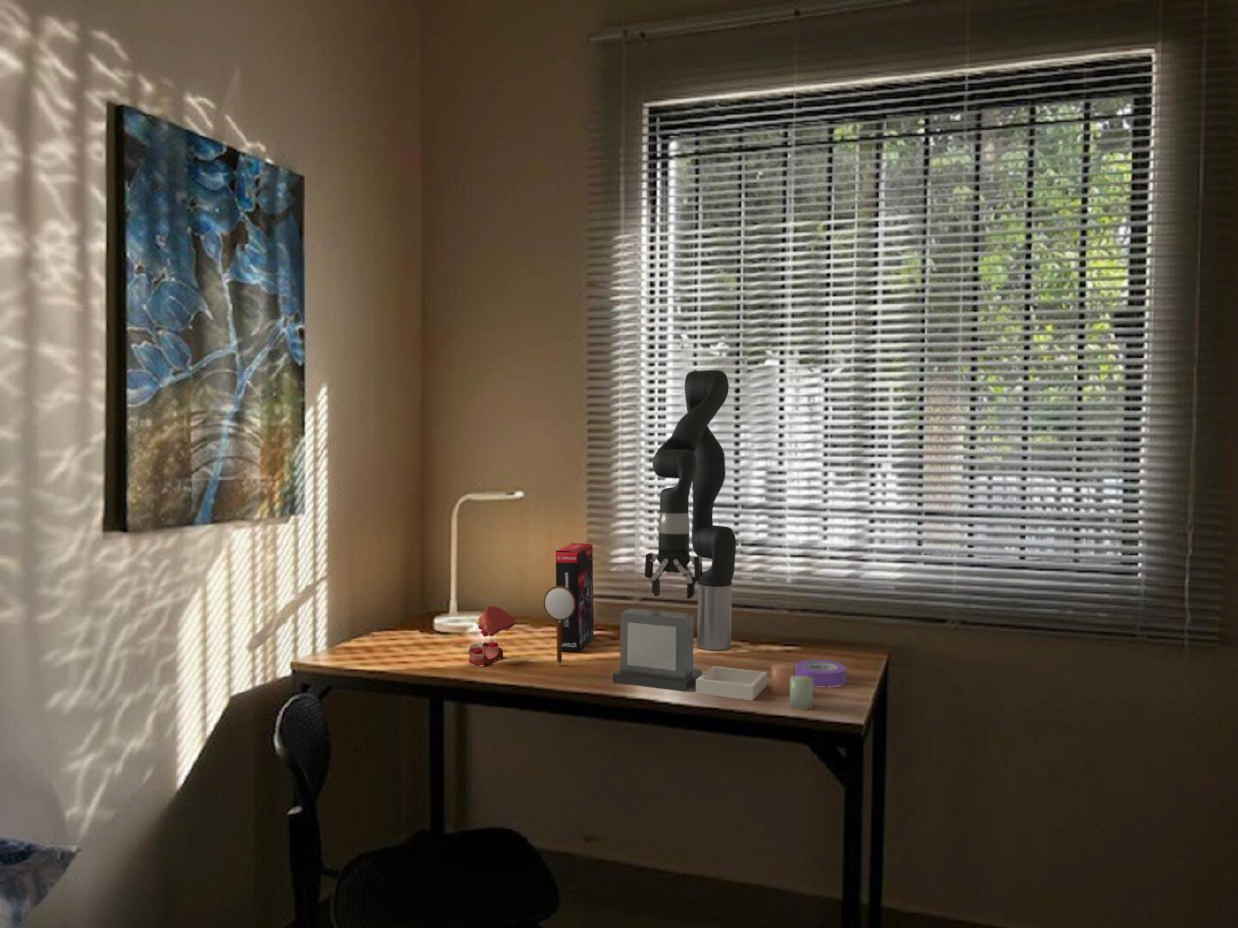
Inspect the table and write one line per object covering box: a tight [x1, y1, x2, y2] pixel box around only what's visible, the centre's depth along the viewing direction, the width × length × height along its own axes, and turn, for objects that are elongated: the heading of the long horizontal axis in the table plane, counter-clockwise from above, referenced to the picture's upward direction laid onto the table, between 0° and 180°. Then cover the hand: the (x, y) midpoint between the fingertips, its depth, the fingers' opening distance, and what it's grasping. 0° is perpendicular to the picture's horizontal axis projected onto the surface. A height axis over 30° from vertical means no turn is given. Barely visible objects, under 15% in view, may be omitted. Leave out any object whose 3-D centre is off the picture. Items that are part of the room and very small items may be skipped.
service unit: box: [612, 607, 703, 692], centre depth 212 cm, size 12×18×16 cm, turn 67°
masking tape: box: [794, 659, 847, 687], centre depth 213 cm, size 12×12×4 cm
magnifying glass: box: [543, 585, 576, 667], centre depth 224 cm, size 9×2×20 cm, turn 71°
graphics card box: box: [555, 542, 595, 653], centre depth 246 cm, size 17×7×27 cm, turn 168°
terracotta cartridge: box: [770, 663, 794, 697], centre depth 202 cm, size 5×5×6 cm
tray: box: [695, 665, 768, 701], centre depth 205 cm, size 13×13×3 cm
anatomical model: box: [467, 605, 517, 666], centre depth 228 cm, size 10×8×15 cm
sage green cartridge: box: [789, 675, 814, 709], centre depth 193 cm, size 5×5×6 cm
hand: (673, 596), depth 221 cm, fingers open, 8 cm apart
